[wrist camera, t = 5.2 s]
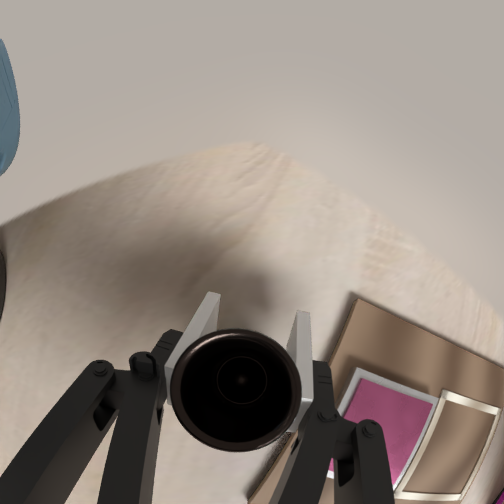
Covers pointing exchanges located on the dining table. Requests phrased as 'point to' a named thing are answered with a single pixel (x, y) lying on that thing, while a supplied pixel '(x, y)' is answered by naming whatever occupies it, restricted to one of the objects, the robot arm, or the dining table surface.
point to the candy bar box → (500, 498)
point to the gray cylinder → (235, 390)
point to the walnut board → (426, 381)
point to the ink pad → (387, 415)
